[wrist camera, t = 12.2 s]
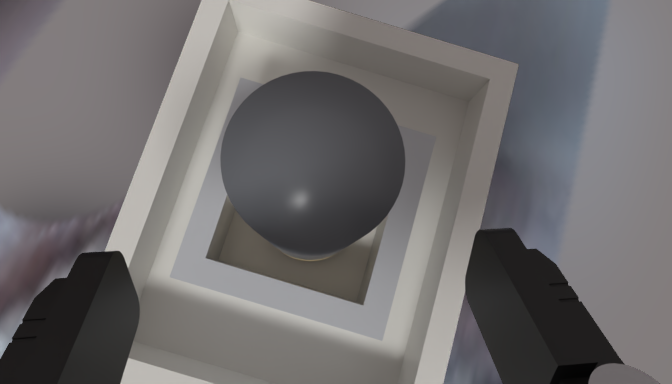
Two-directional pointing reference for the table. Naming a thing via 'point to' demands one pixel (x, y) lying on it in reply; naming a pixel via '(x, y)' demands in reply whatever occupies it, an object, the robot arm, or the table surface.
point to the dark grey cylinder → (312, 163)
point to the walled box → (270, 263)
